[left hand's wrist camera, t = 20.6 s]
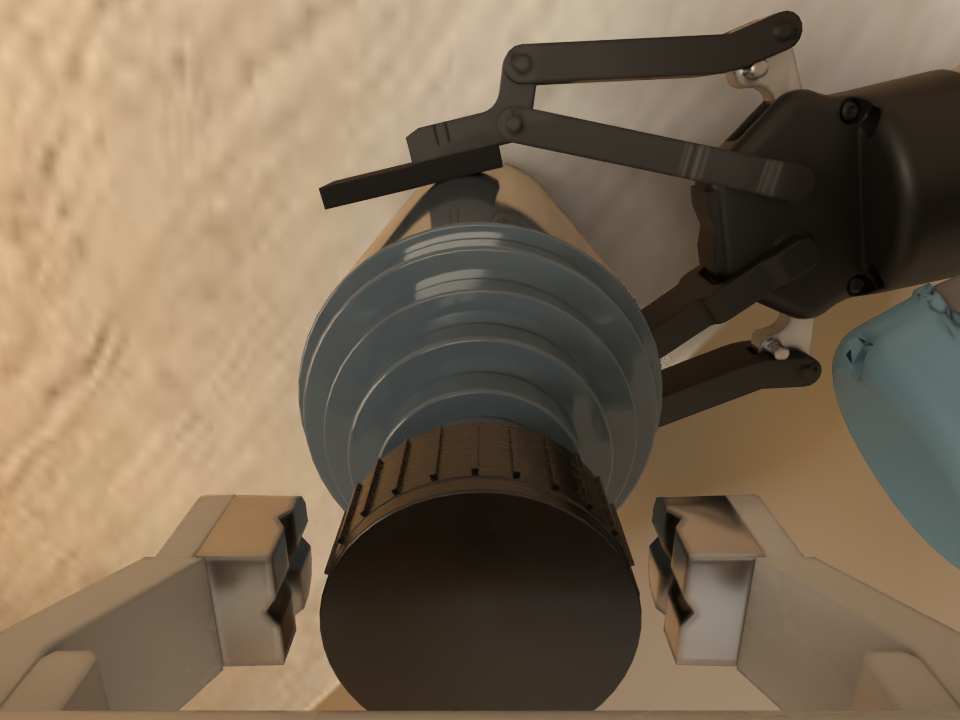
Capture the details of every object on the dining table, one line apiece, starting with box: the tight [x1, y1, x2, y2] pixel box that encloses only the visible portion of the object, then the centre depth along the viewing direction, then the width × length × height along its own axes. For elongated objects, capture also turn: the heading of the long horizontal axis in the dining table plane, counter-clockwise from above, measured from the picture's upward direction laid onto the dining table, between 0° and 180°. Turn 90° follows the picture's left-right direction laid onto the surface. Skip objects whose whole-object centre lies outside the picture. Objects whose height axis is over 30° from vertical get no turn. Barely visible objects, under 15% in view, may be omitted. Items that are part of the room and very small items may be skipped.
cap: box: [320, 420, 641, 711], centre depth 9 cm, size 4×4×2 cm
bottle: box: [299, 163, 663, 511], centre depth 21 cm, size 8×8×25 cm
